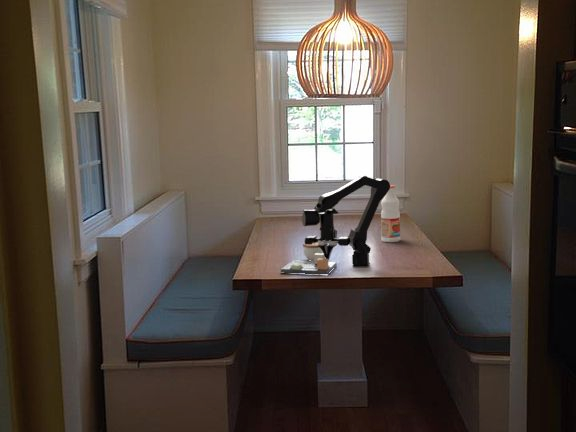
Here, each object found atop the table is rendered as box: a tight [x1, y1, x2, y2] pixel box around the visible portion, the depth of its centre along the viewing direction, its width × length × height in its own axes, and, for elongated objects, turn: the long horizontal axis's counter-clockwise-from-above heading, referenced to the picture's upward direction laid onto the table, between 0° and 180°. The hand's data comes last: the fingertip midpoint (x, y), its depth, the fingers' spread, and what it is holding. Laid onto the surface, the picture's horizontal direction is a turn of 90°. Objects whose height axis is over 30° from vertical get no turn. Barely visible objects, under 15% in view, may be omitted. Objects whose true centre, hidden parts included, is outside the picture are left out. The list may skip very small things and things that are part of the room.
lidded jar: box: [302, 241, 323, 261], centre depth 309 cm, size 11×11×9 cm
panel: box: [280, 259, 338, 275], centre depth 291 cm, size 20×16×2 cm
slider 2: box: [317, 258, 329, 270], centre depth 283 cm, size 4×3×4 cm
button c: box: [291, 264, 302, 270], centre depth 287 cm, size 4×4×3 cm
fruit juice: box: [380, 184, 401, 243], centre depth 343 cm, size 9×9×28 cm
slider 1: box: [314, 253, 325, 264], centre depth 293 cm, size 4×3×4 cm
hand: (327, 260), depth 292 cm, fingers closed
